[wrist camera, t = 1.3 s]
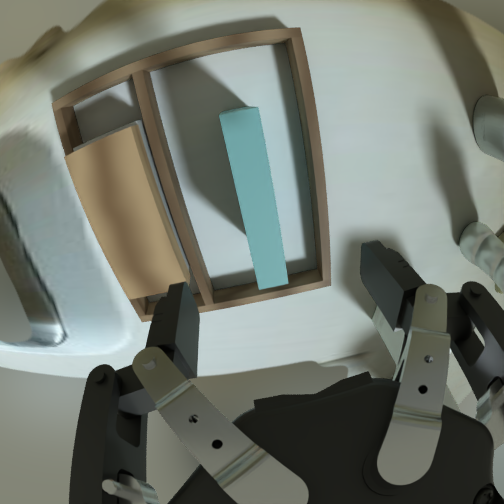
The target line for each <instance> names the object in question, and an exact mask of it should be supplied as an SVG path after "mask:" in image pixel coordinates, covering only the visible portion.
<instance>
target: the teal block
mask: <svg viewBox="0 0 504 504" xmlns="http://www.w3.org/2000/svg"><path fill="white" fill-rule="evenodd" d="M219 118H220V122H221V126H222V131H223V135H224V139H225V144H226V148H227V153H228V157H229V161H230V166H231V170H232V174H233V179H234V183H235V187H236V192H237V196H238V200H239V205H240V209H241V214H242V218H243V222H244V227H245V231H246V235H247V240H248V244H249V248H250V253H251V257H252V261H253V266H254V270H255V274H256V278H257V283H258V287H259V290H261V289H266V288H270V287H275V286H280V285H284V284H289V283H288V276H287V270H286V263H285V256H284V250H283V243H282V237H281V230H280V224H279V218H278V212H277V206H276V200H275V194H274V188H273V183H272V177H271V171H270V166H269V160H268V155H267V150H266V144H265V139H264V134H263V129H262V124H261V118H260V113H259V108H258V107H249V106H247V107H242V108H237V109H232V110H228V111H223V112H221V113H220V114H219Z"/></svg>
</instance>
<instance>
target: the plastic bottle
mask: <svg viewBox="0 0 504 504" xmlns="http://www.w3.org/2000/svg"><path fill="white" fill-rule="evenodd" d="M460 250H461V253H462V254H463V255H464V257H465V258H466V259H467V260H468V261H469V262H471V263H472V264H474V265H476V266H478V267H479V268H480V269H481V270H483V271H484V272H485V273H486V274H487V275H489V276H490V277H491V279H492V280H493V281H494V282H495V283H496V284H497V286H498V287H499V288H500V289H501V291H502V292H503V294H504V243H503V242H502V241H501V240H500V239H499V238H498V237H497V236H496V235H495V234H494V233H493V231H492V230H491V229H490V228H489V227H488V226H487V225H485V224H483V223H481V222H473V223H471V224H469V225H468V226H467V227H466V228H465V230H464V231H463V233H462V235H461V238H460Z"/></svg>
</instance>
